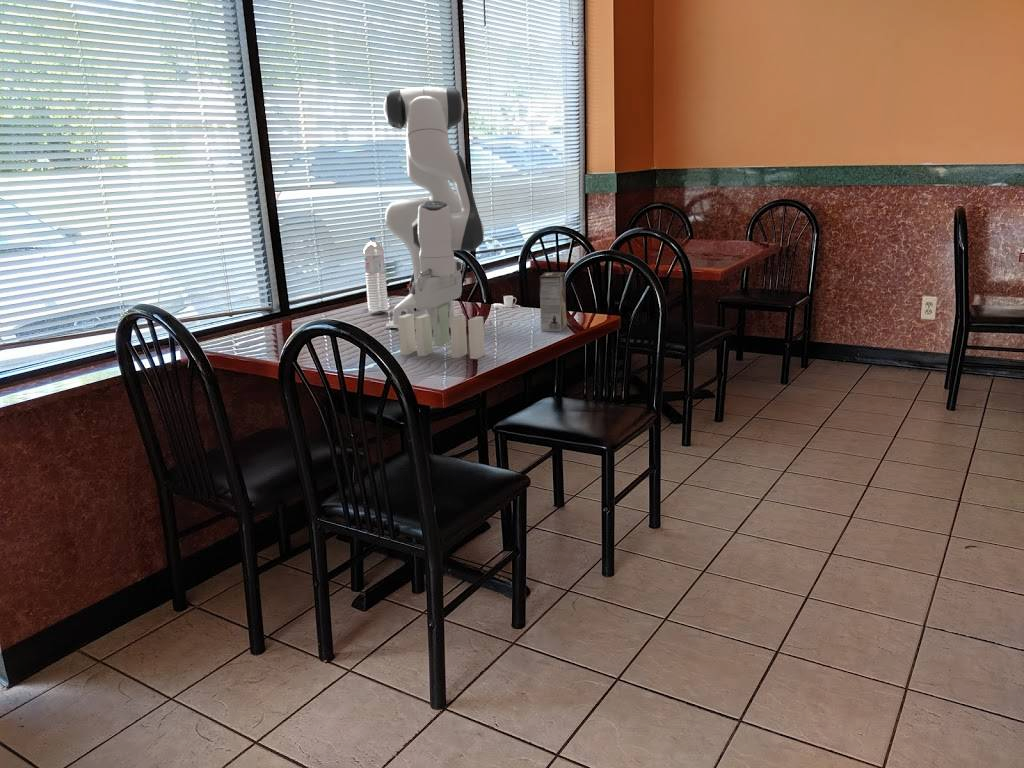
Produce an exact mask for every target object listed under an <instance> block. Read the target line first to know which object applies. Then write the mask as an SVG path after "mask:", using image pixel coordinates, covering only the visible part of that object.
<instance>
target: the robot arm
mask: <svg viewBox="0 0 1024 768" xmlns="http://www.w3.org/2000/svg"><path fill="white" fill-rule="evenodd" d="M464 110H465V104H464V99H463V97H462V95H461V92H460V91H459V90H458V88H455V87H451V86H445V87H438V86H421V87H410V88H409V87H408V88H403V89H400V88H396V89H391V90H389V91H388V92H387V94H386V95H385V99H384V103H383V114H384V117H385V119H386V121H387V124H388V125H389V126H390V127H392V128H395V129H400V130H402V129H406V130H405V154H406V155H405V156H406V157H405V158H406V171H407V172H406V173H407V178H408V179H409V180H410V181H411V182H412V183H413V184H414V185H416V186H417V187H421V188H423V189H425V190H427V191H428V192H429V197H423V198H422V197H421V198H405V199H400V200H396V201H392V202H390V203H389V205H388V206H387V208H386V209H385V212H384V222H385V225H386V227H387V230H389V232H391V234H392V235H394V236H395V237H397V238H398V239H399V240H400V241H401V242H402V243H403V244H404V246H405V247H406V248H407V250H408V252H409V254H410V258H411V263H412V269H413V272H412V273H413V281H412V282H411V283H409V284H406V286H407V287H406V289H408V290H409V294H408V295H406V296H405V297H404V298H403V299H402V300H401V301H399V302H398V303H397V304H396V305H395V306H394V308H393V311H392V320H391V321H389V322H387V323H386V324H385V327H386V326H388V327H397V328H399V325H398V317H400V316H403V315H405V314H414V325H415V318H416V317H419V316H421V315H424V314H427V315H429V316H430V322H431V328H432V331H433V324H437V323H438V322H439V316H437V312H436V310H437V306H438V305H441V304H442V305H448V322H449V329H451V326H450V319H452V318H454V317H456V314H455V309H454V304H453V301H454V300H457V299H460V298H461V296H462V291H463V290H462V289H463V286H462V285H463V283H462V282H463V281H462V272H461V271H462V270H463V262H461V261H460V260H458V259H456V258H455V254H454V251H462V252H464V251H465V252H474V251H475V250H477V249H478V248H479V247H480V246H481V245H482V244H483V242H484V236H485V230H484V224H483V221H482V220H481V217H480V214H479V211H478V208H477V204H476V200H475V197H474V192H473V189H472V186H471V182H470V178H469V174H468V172H467V168H466V167H467V166H466V164H465V161H464V159H463V157H462V156H461V154H458V153H456V152H455V151H454V150H453V148H452V146H451V144H450V141H449V130H450V129H451V128H453V127H455V126H457V125H458V124H460V123H461V121H462V118H463V116H464V112H465V111H464ZM450 183H451V184H452V185H453V186H454V189H455V191H454V189H453V188H452V187H451V184H450ZM415 330H416V325H415Z"/></svg>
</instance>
